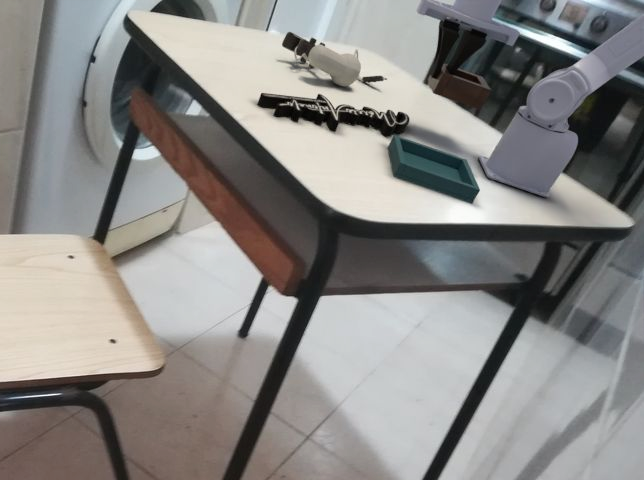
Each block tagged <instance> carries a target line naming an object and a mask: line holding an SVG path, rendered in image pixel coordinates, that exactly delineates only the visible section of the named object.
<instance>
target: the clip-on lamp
mask: <svg viewBox="0 0 644 480" xmlns="http://www.w3.org/2000/svg"><path fill="white" fill-rule="evenodd" d="M316 43H317V39H316V38H314V37H310V39H309V40H307V39H306V38H302V37H301V36H299V35H297V34H296V33H294V32H292V31H288V32H286V35H285V36H284V38H283V41H282V43H281V46H282V47H283V48H284V49H286V50H288V51H290V52H292V53H293V54H294V60H295V61H296V62H299V61H300V62H301V63H303V64H306V63H307V62H308V63H309V64H308V66H309V67H310V68H312V69H314V68H316V69H317V70H320V71H322V72H324V73H325V74H327V75H329V76H330V78H331V81H332V82H333V83H334V84H336V85H337V86H340V87H349V86H351V85H353V84H354V83H355V82H356V81H357V80H360V81H362V82H364V83H377V82H384V81H388V78H387V77H384V76H383V75H371V76H362V77H361V76H360V75H361V74H360V73H361V69H362V66H361V65H362V64H361V61H360V59H359V50H358V48H357V49H355V50H354V52H353V53H354V54H352V53H346V52H345V53H341V54H340V53H339V52H336V51H335V50H333V49H331V48H329V47H327V46H326V44H325V43H324V42H319V44H317V45H316ZM298 56H299V58H298Z"/></svg>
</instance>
